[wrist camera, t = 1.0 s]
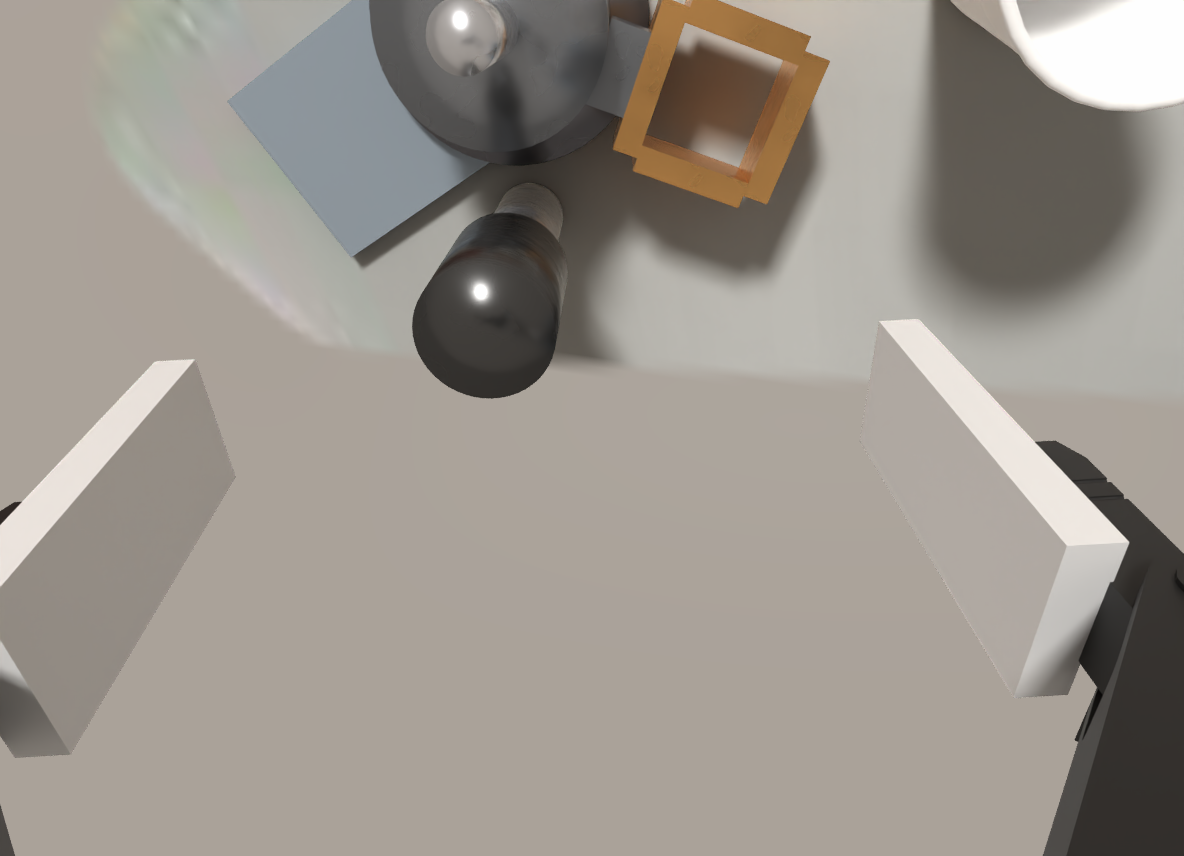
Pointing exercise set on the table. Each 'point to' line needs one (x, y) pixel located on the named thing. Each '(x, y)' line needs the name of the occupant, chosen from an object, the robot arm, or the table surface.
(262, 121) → the key mat
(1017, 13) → the cup
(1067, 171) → the table surface
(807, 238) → the table surface
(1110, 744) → the robot arm
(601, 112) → the dark grey disc
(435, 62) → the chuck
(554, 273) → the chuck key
